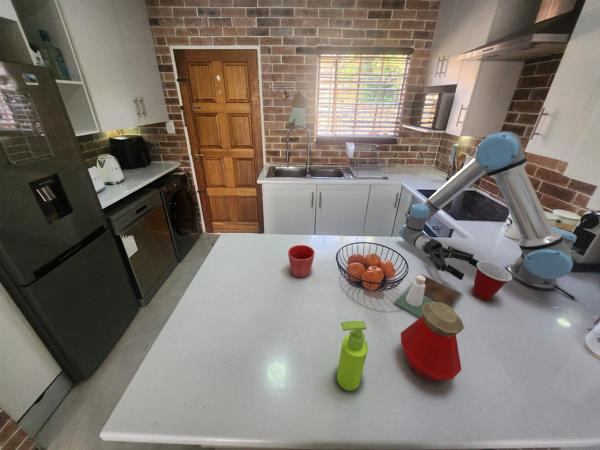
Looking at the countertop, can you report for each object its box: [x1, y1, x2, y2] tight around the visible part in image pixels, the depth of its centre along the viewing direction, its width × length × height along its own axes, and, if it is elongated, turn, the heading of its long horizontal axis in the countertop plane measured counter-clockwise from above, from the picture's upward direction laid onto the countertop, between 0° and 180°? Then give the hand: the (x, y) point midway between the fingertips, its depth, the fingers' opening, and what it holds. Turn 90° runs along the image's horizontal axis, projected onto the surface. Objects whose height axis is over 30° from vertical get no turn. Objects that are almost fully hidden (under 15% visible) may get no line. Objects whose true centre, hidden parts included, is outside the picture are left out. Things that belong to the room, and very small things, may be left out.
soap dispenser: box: [336, 320, 369, 392], centre depth 59 cm, size 6×7×20 cm
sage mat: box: [395, 289, 434, 319], centre depth 87 cm, size 14×11×1 cm
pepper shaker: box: [406, 275, 426, 307], centre depth 86 cm, size 5×5×11 cm
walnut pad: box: [423, 275, 461, 308], centre depth 95 cm, size 14×11×1 cm
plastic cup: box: [472, 260, 513, 301], centre depth 91 cm, size 11×11×12 cm
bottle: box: [400, 301, 465, 382], centre depth 63 cm, size 16×14×20 cm
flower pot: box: [287, 244, 316, 278], centre depth 101 cm, size 11×11×10 cm
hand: (474, 273), depth 95 cm, fingers open, 13 cm apart
